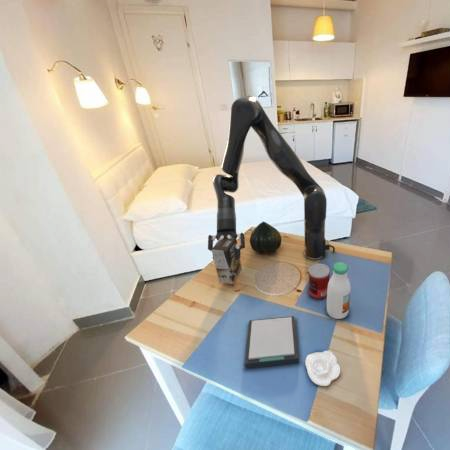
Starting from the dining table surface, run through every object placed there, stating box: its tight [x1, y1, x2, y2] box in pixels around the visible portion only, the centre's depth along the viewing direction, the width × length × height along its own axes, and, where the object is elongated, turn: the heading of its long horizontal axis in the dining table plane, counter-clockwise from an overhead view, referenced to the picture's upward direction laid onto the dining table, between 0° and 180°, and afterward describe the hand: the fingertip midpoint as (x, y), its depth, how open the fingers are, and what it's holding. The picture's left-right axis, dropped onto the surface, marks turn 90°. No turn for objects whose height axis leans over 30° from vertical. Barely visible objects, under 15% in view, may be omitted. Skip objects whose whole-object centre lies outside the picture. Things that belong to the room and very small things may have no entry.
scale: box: [244, 315, 299, 370], centre depth 77 cm, size 15×15×3 cm
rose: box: [304, 350, 341, 387], centre depth 69 cm, size 10×4×10 cm
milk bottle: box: [326, 261, 352, 320], centre depth 84 cm, size 8×8×20 cm
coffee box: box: [211, 238, 243, 285], centre depth 99 cm, size 9×6×16 cm
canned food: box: [308, 263, 331, 300], centre depth 94 cm, size 8×8×11 cm
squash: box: [249, 221, 282, 255], centre depth 121 cm, size 14×15×15 cm
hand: (226, 260), depth 97 cm, fingers closed on coffee box, 8 cm apart
